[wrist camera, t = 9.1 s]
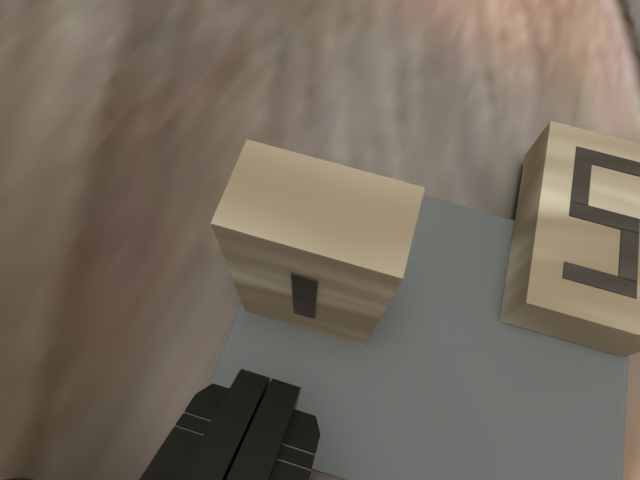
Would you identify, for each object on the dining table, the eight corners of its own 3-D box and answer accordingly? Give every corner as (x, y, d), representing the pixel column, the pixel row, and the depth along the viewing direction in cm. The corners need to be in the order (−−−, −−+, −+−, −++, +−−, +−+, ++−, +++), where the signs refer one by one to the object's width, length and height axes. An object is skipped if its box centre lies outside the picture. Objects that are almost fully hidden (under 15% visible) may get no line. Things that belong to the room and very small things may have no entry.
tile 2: (668, 342, 16) (671, 150, 19) (526, 302, 16) (551, 119, 19) (622, 357, 18) (630, 184, 21) (498, 321, 18) (524, 156, 21)
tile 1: (364, 348, 18) (402, 281, 11) (245, 312, 18) (209, 225, 11) (380, 284, 19) (425, 185, 12) (267, 251, 19) (247, 137, 12)
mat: (196, 430, 17) (193, 429, 17) (294, 168, 21) (294, 160, 21) (607, 564, 16) (617, 568, 15) (623, 258, 20) (632, 252, 20)
